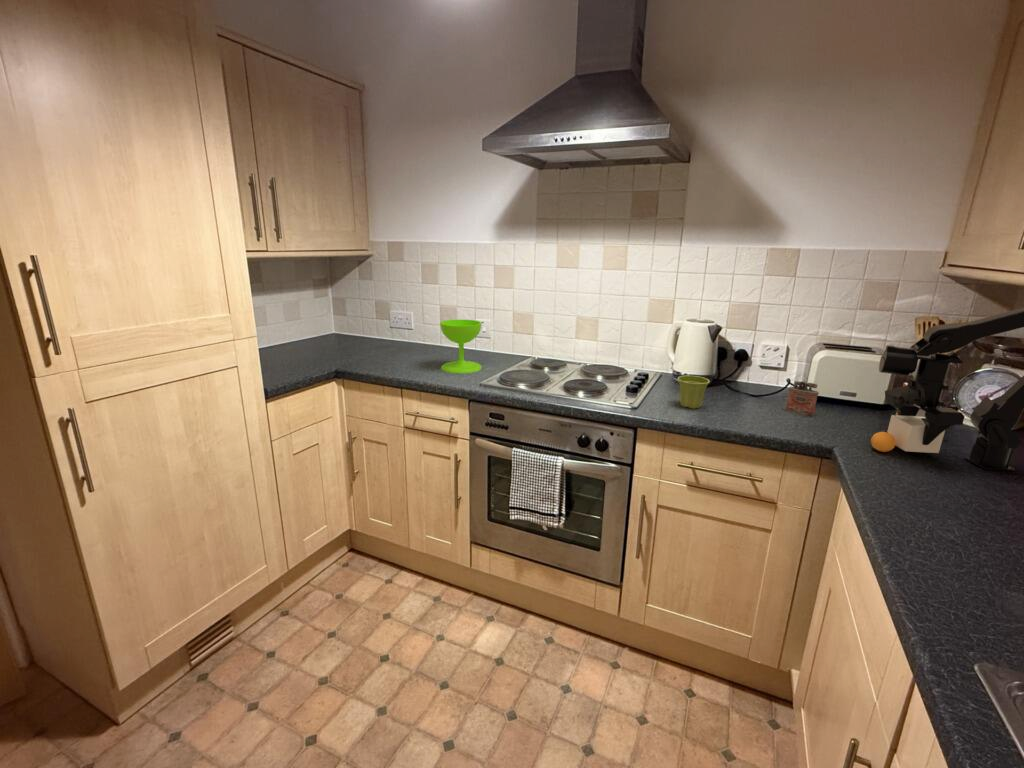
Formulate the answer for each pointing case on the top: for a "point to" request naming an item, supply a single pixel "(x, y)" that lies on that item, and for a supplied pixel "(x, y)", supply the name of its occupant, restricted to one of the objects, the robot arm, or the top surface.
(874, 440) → the ball
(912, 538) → the top surface
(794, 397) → the lighter
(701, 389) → the plant pot
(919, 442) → the cream cube
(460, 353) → the wineglass
